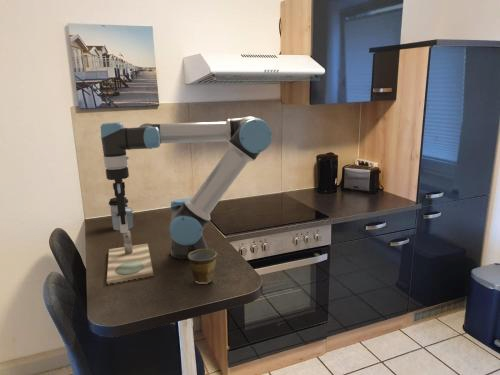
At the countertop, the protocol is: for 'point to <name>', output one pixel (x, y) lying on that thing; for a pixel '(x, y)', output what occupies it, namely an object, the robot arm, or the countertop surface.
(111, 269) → the bayonet board
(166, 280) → the countertop surface
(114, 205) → the coffee cup
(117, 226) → the cap
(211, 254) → the ceramic cup
